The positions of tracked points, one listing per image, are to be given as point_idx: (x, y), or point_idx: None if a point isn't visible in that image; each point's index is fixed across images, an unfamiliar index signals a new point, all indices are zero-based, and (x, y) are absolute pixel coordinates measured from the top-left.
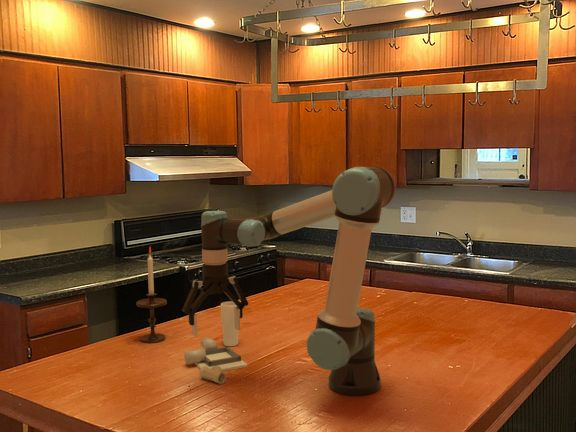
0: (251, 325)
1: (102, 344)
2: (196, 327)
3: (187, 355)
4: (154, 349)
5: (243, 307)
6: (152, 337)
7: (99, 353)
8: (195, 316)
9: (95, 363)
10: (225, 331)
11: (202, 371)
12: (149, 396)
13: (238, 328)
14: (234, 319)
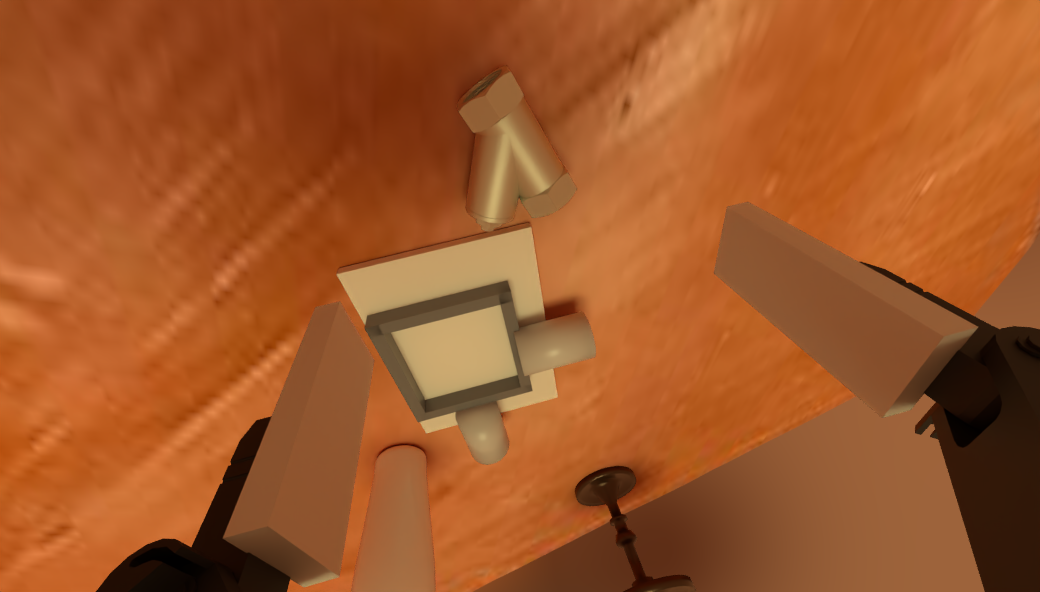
0: None
1: (712, 462)
2: (797, 244)
3: (591, 332)
4: (621, 435)
5: (112, 579)
6: (611, 486)
7: (742, 420)
8: (940, 316)
9: (781, 368)
10: (419, 495)
11: (567, 172)
12: (811, 29)
13: (329, 313)
14: (362, 424)
